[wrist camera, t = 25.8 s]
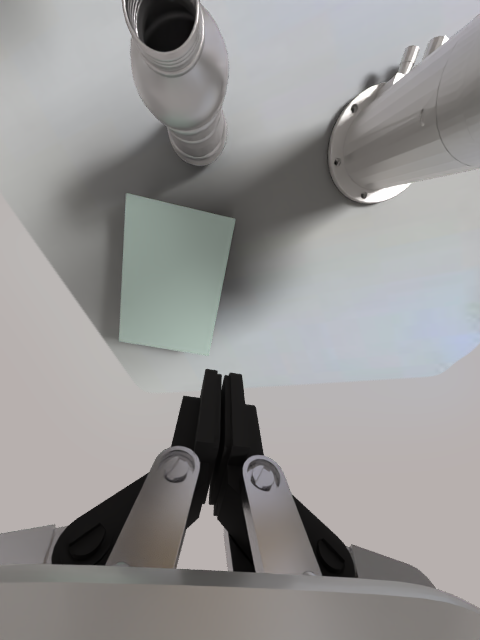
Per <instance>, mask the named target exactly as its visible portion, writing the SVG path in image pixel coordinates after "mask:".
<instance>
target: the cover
mask: <svg viewBox="0 0 480 640" xmlns="http://www.w3.org/2000/svg"><path fill="white" fill-rule="evenodd" d="M235 220H236V219H234V218H230V217H225V216H221V215H217V214H213V213H209V212H204V211H200V210H196V209H192V208H188V207H183V206H179V205H175V204H171V203H167V202H162V201H158V200H154V199H150V198H145V197H141V196H137V195H133V194H129V193H126V203H125V224H124V244H123V265H122V286H121V306H120V327H119V341H120V342H126V343H132V344H138V345H144V346H150V347H156V348H163V349H169V350H175V351H181V352H187V353H193V354H199V355H205V356H209V352H210V347H211V342H212V337H213V332H214V327H215V322H216V316H217V311H218V306H219V301H220V296H221V291H222V286H223V281H224V276H225V271H226V266H227V261H228V256H229V251H230V246H231V240H232V235H233V230H234V225H235Z"/></svg>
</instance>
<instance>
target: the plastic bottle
mask: <svg viewBox="0 0 480 640" xmlns="http://www.w3.org/2000/svg"><path fill="white" fill-rule="evenodd" d="M122 7H123V12H124V16H125V20H126V23H127V26H128V29H129V31H130V33H131V35H132V38H131V48H130V55H131V67H132V74H133V78H134V83H135V86H136V88H137V91H138V93H139V96H140V97H141V99H142V101H143V102H144V104H145V106H146V107H147V108H148V109H149V110H150V112H151V113H152V114H153V115H154V116H155V117H156V118H157V119H158V120H159V121H160V122H162V123H163V124H164V125H165V126H166V127H167V128H168V134H169V138H170V142H171V144H172V147H173V149H174V151H175V152H176V154H177V155H178V156H179V157H180V158H181V159H182V160H184V161H185V162H187V163H189V164H191V165H195V166H204V165H208V164H210V163H212V162H213V161H215V160H216V159H217V158H218V156H219V155H220V154H221V152H222V151H223V149H224V146H225V144H226V140H227V123H226V119H225V116H224V113H223V110H222V104H223V101H224V97H225V95H226V89H227V84H228V77H229V61H228V53H227V49H226V45H225V42H224V39H223V37H222V35H221V33H220V30H219V28H218V26H217V24H216V22H215V20H214V19H213V17H212V16H211V14H210V13H209V12H208V11H207V10H206V9H205V8H204V7H203V6H202V5H201V4H200V0H122Z"/></svg>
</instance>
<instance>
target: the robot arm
mask: <svg viewBox="0 0 480 640" xmlns="http://www.w3.org/2000/svg"><path fill="white" fill-rule="evenodd" d="M418 52H419V47H417V46H414V45H413V46H409V47H407V48H406V49H405V51H404V54H403V57H402V60H401V63H400V67H399V70H398V73H397V74H396V75H395V76H394V77H393V78H392V79H390V80H389V81H388V82H383V83H379V84H376V85H373V86H371V87H369V88H367V89H366V90H364V91H363V92H361V93H360V94H359V95H358V96H356V97H355V98H354V99H353V100H352V101H351V102H350V103H349V104H348V105H347V106H346V108H345V109H344V110H343V112H342V113H341V115H340V116H339V118H338V120H337V122H336V124H335V126H334V128H333V131H332V134H331V138H330V142H329V149H328V164H329V169H330V174H331V176H332V179H333V181H334V183H335V185H336V186H337V188H338V189H339V190H340V191H341V192H342V193H343V194H344V195H345V196H346V197H348V198H349V199H351V200H353V201H356V202H359V203H367V204H370V203H378V202H383V201H386V200H388V199H391V198H393V197H395V196H396V195H398V194H399V193H401V192H402V191H404V190H405V189H406V188H407V187H408V186H409V185H410V184H411V183H413V182H418V181H423V180H428V179H433V178H437V177H442V176H447V175H452V174H457V173H461V172H466V171H471V170H476V169H480V14H479V15H478V16H476V17H475V18H474V19H473V20H472V21H470V22H469V23H468V24H467V25H465V26H464V27H463V28H462V29H461V30H459V31H458V32H457V33H456V34H454V35H453V36H452V37H451V38H447V37H445V36H438V37H435V38H433V39H431V40H430V41H429V43H428V45H427V47H426V50H425V53H424V56H423V58H422V61H421V62H420V63H419V64H418V65H416V66H415V67H414V68H413V69H412V67H413V65H414V63H415V60H416V58H417V55H418ZM351 110H352V111H353V112H351ZM334 161H335V162H336V163H337V164H336V165H335V164H334ZM361 194H362V197H361ZM221 379H222V375H221V374H217V371H216V370H210V369H206V370H205V375H204V380H203V385H202V390H201V395H200V398H196V397H189V396H183V400H182V404H181V408H180V412H179V416H178V421H177V424H176V429H175V433H174V437H173V441H172V445H171V447H170V448H168V449H165V450H164V451H162V452H161V453H160V454H159V455H158V456H157V458H156V459H155V462H154V464H153V466H152V468H151V470H150V472H149V473H147V474H146V475H144V476H143V477H141V478H140V479H138V480H136V481H135V482H133V483H132V484H130V485H129V486H127V487H126V488H124V489H122V490H121V491H119V492H118V493H116V494H115V495H113V496H112V497H110V498H108V499H107V500H105V501H104V502H102V503H101V504H99V505H98V506H96V507H94V508H93V509H91V510H90V511H88V512H87V513H85V514H84V515H82V516H81V517H79V518H77V519H76V520H75V521H74V522H72V523H71V524H70V525H69V526H65V527H59V528H55V524H54V525H48V526H42V527H36V528H31V529H24V530H18V531H13V532H7V533H1V534H0V640H480V608H478V607H477V606H475V605H473V604H471V603H469V602H467V601H465V600H463V599H461V598H459V597H457V596H454V595H452V594H450V593H447V592H444V591H442V590H439V589H436V588H435V586H434V585H433V584H432V583H431V581H430V580H429V579H428V578H427V577H426V576H425V575H424V574H423V573H422V572H421V571H420V570H418V569H417V568H415V567H413V566H411V565H409V564H406V563H404V562H401V561H397V560H395V559H392V558H389V557H386V556H383V555H381V554H378V553H375V552H372V551H369V550H366V549H364V548H361V547H358V546H355V545H351V546H350V547H347V546H345V545H344V543H343V542H342V541H341V540H340V539H339V538H338V537H337V536H336V535H335V534H334V533H333V532H332V531H331V530H330V529H329V528H328V527H326V526H325V525H324V524H323V523H322V522H321V521H320V520H319V519H318V518H317V517H316V516H315V515H313V514H312V513H311V512H310V511H309V510H308V509H307V508H306V507H305V506H304V505H303V504H302V503H301V502H299V501H298V500H297V499H296V498H295V497H294V496H293V495H292V494H291V492H290V489H289V486H288V483H287V481H286V478H285V476H284V473H283V471H282V470H281V467H280V466H279V465H278V464H277V463H276V462H275V461H274V460H272V459H271V458H269V457H266V456H264V454H263V449H262V442H261V436H260V430H259V424H258V418H257V412H256V407H255V406H254V405H246V404H245V400H244V389H243V380H242V375H241V374H236V373H230V374H229V376H228V375H225V376H224V380H223V385H222V389H221ZM209 485H210V492H209V504H210V505H214V516H218V517H217V519H218V520H219V521H220V522H221V524H222V525H223V526H224V541H225V549H226V558H227V566H228V571H211V570H189V569H176V568H177V564H178V560H179V555H180V552H181V548H182V544H183V541H184V537H185V533H186V529H187V528H188V527H189V526H190V525H191V524H192V523H193V522H195V521H196V520H197V519H198V518H199V514H200V511H201V507H202V504H205V501H206V497H207V493H208V489H209Z"/></svg>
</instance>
